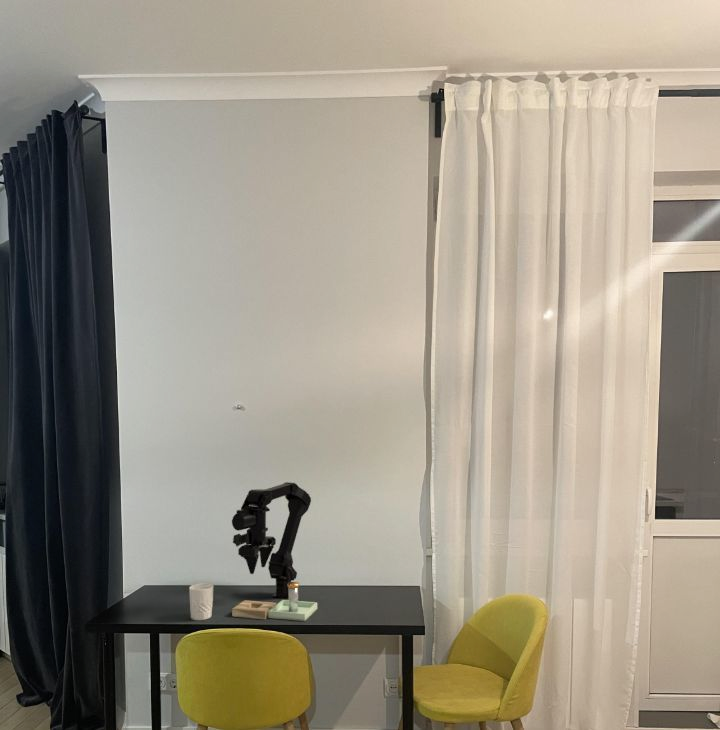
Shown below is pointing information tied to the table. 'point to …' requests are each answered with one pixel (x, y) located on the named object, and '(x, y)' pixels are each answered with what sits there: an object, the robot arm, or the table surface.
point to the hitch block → (252, 609)
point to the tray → (283, 612)
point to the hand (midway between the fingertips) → (257, 570)
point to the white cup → (201, 601)
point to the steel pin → (293, 596)
